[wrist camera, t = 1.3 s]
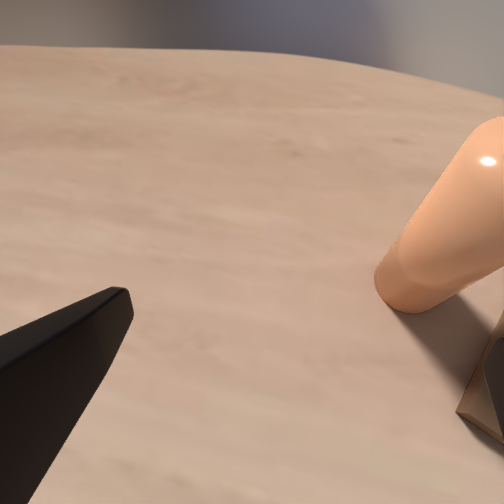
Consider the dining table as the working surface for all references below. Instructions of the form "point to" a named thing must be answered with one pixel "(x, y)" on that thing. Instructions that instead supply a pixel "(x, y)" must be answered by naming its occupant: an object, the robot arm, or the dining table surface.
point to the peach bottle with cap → (451, 229)
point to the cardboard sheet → (482, 396)
